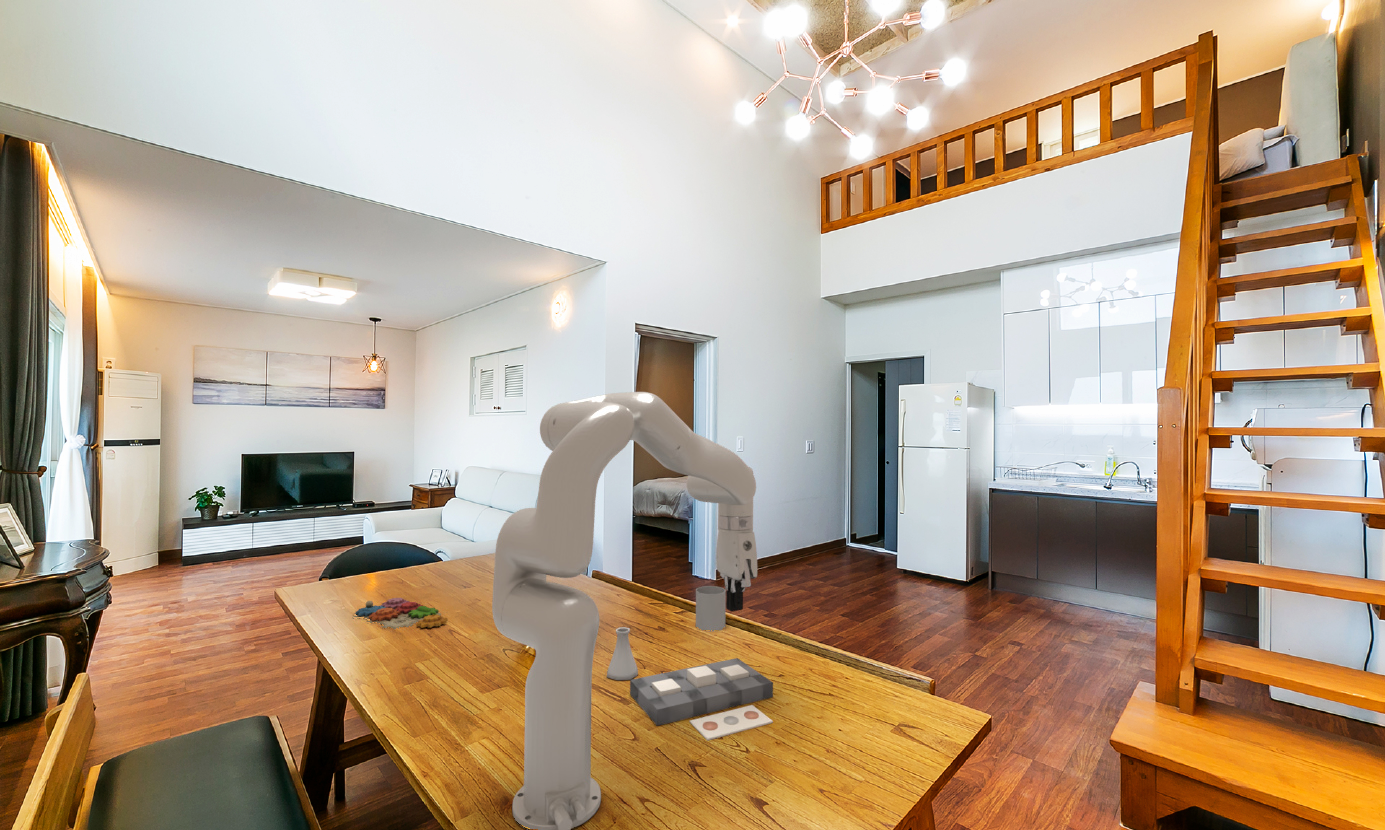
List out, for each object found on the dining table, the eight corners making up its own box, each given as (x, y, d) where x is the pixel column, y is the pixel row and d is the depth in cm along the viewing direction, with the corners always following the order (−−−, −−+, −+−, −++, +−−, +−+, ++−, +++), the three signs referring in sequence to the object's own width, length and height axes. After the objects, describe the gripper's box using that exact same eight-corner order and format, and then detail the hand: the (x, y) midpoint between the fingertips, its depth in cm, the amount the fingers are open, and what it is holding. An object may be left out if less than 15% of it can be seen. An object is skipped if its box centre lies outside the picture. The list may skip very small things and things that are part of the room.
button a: (748, 689, 121) (748, 672, 122) (730, 693, 119) (730, 676, 120) (737, 681, 125) (737, 664, 125) (720, 685, 123) (720, 668, 123)
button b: (715, 691, 118) (715, 673, 118) (696, 695, 116) (696, 677, 116) (705, 682, 122) (705, 665, 122) (687, 686, 120) (687, 669, 120)
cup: (690, 623, 163) (691, 588, 163) (716, 619, 166) (716, 584, 167) (703, 633, 155) (704, 595, 156) (730, 628, 159) (730, 592, 159)
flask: (632, 683, 125) (633, 636, 125) (601, 679, 126) (601, 634, 126) (642, 669, 132) (643, 625, 132) (612, 666, 133) (613, 623, 133)
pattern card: (772, 722, 108) (772, 720, 108) (707, 740, 102) (707, 737, 102) (752, 706, 114) (752, 704, 114) (689, 722, 108) (689, 719, 108)
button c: (680, 705, 114) (680, 687, 114) (660, 710, 112) (660, 691, 112) (671, 696, 118) (671, 678, 118) (651, 700, 116) (651, 682, 116)
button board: (772, 697, 118) (772, 682, 119) (657, 726, 107) (657, 709, 107) (737, 671, 131) (737, 658, 131) (630, 694, 119) (630, 679, 119)
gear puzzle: (463, 622, 164) (463, 607, 164) (409, 639, 150) (409, 624, 150) (399, 604, 180) (400, 590, 180) (346, 618, 167) (346, 604, 167)
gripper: (770, 527, 118) (769, 617, 118) (732, 517, 132) (731, 598, 131) (738, 530, 115) (737, 622, 114) (703, 519, 128) (702, 602, 128)
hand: (734, 609), depth 123 cm, fingers closed
